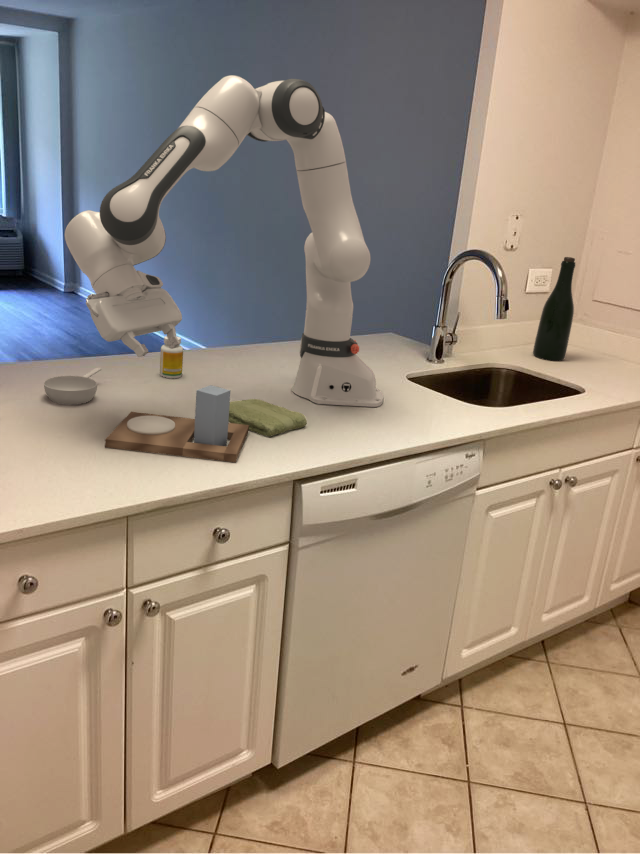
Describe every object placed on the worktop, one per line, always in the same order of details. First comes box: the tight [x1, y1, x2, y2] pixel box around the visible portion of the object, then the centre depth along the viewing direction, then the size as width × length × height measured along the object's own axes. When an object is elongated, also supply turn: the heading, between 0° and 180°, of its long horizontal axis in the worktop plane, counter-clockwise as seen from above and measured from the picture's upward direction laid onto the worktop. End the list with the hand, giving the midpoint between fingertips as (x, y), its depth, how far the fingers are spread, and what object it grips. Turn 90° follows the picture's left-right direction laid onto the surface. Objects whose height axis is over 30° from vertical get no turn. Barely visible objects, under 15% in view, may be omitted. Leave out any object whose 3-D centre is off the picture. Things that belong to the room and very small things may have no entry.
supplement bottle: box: [159, 335, 184, 379], centre depth 177 cm, size 5×5×10 cm
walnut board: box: [104, 411, 249, 463], centre depth 139 cm, size 24×16×2 cm, turn 87°
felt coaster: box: [127, 416, 175, 435], centre depth 140 cm, size 9×9×1 cm
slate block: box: [193, 384, 231, 446], centre depth 137 cm, size 4×4×11 cm
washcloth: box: [228, 398, 308, 438], centre depth 154 cm, size 13×18×3 cm
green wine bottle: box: [532, 256, 576, 362], centre depth 237 cm, size 10×10×33 cm
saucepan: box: [43, 367, 102, 406], centre depth 158 cm, size 11×18×4 cm, turn 169°
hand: (160, 350), depth 138 cm, fingers open, 8 cm apart
